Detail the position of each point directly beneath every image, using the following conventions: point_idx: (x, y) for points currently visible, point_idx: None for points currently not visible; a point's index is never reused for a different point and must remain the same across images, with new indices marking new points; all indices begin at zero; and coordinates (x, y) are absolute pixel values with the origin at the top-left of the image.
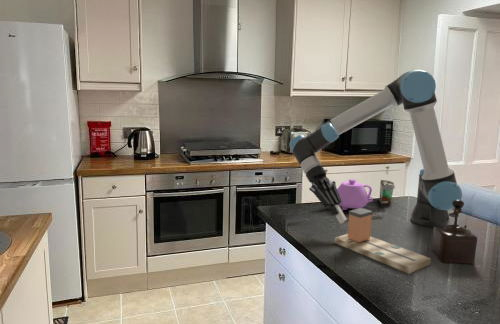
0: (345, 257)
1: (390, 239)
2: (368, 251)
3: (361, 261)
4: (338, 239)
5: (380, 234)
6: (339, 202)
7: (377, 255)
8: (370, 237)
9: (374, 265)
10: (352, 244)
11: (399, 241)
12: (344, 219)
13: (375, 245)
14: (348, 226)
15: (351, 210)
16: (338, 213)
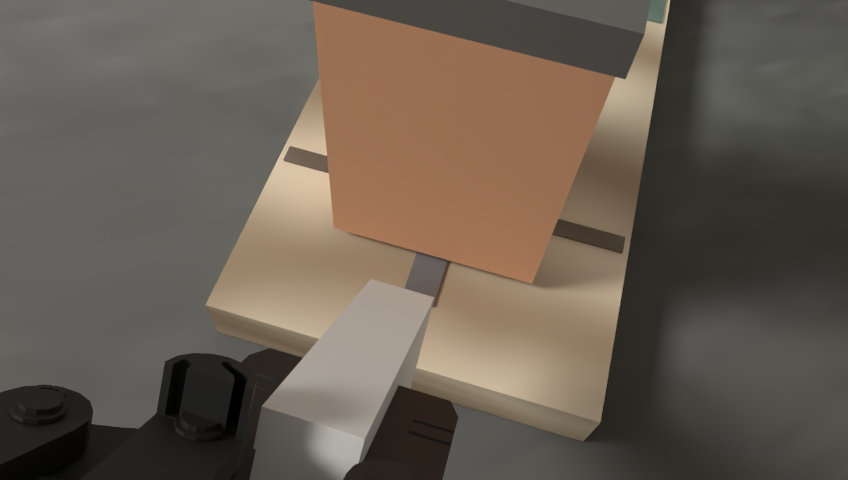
0: (808, 218)
1: (127, 62)
2: (659, 62)
3: (763, 107)
4: (607, 369)
5: (23, 156)
6: (217, 369)
7: (669, 4)
8: (321, 131)
9: (744, 30)
10: (632, 200)
11: (140, 5)
12: (421, 297)
13: None
14: (563, 203)
15: (584, 13)
16: (393, 395)
